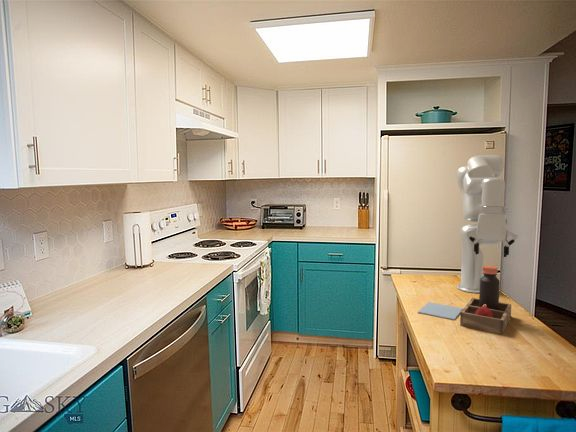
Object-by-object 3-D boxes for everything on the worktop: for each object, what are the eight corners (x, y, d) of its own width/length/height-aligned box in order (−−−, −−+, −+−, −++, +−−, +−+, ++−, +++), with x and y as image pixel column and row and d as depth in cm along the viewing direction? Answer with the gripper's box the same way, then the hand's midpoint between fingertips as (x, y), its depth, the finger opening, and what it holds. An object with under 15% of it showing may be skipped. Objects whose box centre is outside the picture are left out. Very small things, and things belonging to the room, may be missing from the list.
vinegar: (475, 314, 152) (477, 265, 149) (492, 313, 151) (494, 265, 149) (483, 320, 145) (485, 269, 143) (501, 320, 145) (503, 269, 143)
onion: (484, 329, 137) (485, 308, 136) (471, 323, 142) (472, 303, 141) (496, 326, 139) (496, 305, 138) (482, 321, 144) (483, 300, 144)
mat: (428, 303, 165) (428, 302, 165) (462, 309, 157) (463, 308, 157) (417, 312, 154) (418, 311, 154) (454, 320, 146) (454, 319, 146)
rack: (471, 309, 157) (472, 297, 156) (510, 316, 148) (511, 304, 148) (460, 325, 141) (460, 312, 140) (502, 334, 133) (503, 320, 132)
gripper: (520, 210, 141) (518, 255, 143) (469, 209, 152) (468, 251, 153) (517, 212, 135) (515, 259, 137) (465, 210, 146) (464, 254, 147)
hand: (490, 255), depth 145 cm, fingers open, 9 cm apart
